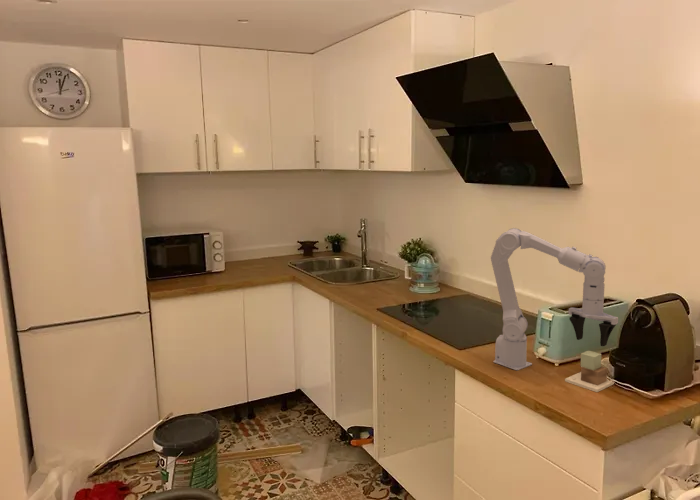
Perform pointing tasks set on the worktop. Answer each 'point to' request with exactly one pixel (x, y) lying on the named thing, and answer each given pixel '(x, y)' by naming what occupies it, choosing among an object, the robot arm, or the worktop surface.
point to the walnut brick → (594, 375)
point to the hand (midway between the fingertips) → (591, 342)
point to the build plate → (577, 381)
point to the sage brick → (591, 360)
